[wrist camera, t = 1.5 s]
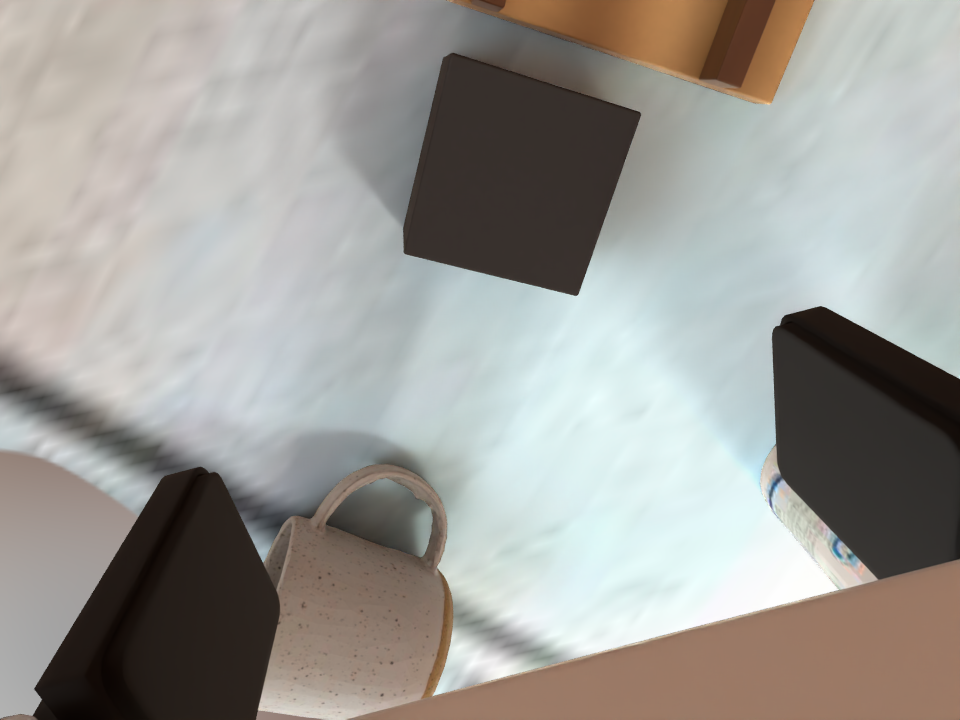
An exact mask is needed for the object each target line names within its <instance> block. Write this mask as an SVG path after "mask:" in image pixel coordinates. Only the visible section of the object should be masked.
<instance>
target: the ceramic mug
mask: <svg viewBox="0 0 960 720" xmlns="http://www.w3.org/2000/svg"><path fill="white" fill-rule="evenodd" d="M384 478H388V479H390V480H392V481H394V482H396V483H398V484H401V485H403V486H405V487H406V488H407V489H409V490H410V491H412V492H413V494H414V496H415V498H416V499H421V500H423V501H425V502H426V504H427V505H428V506H429V507H430V508H431V512H432V516H433V523H432V532H431V536H430V540H429V544H428V547H427V550H426V552H425V554H424V556H423V557H421V558H419V557H417V556H414V555H410V554H407V553H404V552H402V551H399V550H396V549H392V548H388V547H384V546H381V545H378V544H375V543H373V542H370V541H367V540H365V539H362V538H360V537H357V536H355V535H353V534H350V533H347V532H344V531H341V530H340V529H338V528H333V527H330V526H327V525H325V524H326V522H327V520H328V518H329V517H330V515H331V514H332V513H333V512H334V511H335V510H336V508H337V507H338V506H339V505H340V504H341V503H342V502H343V501H344V499H345V498H346V497H347V496H348V495H349V494H351V493H352V492H353V491H355V490H357V489H359V488H361V487H363V486H365V485H366V484H371V483H373V482H375V481H376V480H378V479H384ZM446 539H447V518H446V514H445V511H444V507H443V505H442V502H441V500H440V498H439V497H438V495H437V493H436V492H435V491H434V489H433V488H432V487H431V486H430V485H429V484H428V483H427V482H426V481H425V480H424V479H423V478H421V477H420V476H418V475H417V474H415V473H413V472H411V471H409V470H407V469H405V468H402V467H399V466H395V465H390V464H375V465H370V466H366V467H364V468H362V469H360V470H357V471H355V472H353V473H351V474H349V475H348V476H347V477H345V478H344V479H343V480H342V481H340V482H339V483H338V484H337V485H336V486H335V487H334V488H333V489H332V491H331V492H330V493H329V494H328V495H327V497H326V498H325V499H324V501H323V502H322V503H321V505H320V506H319V507H318V509H317V511H316V513H315V515H314V516H313V517H312V518H311V519H307V518H304V517H300V516H291V517H290V518H289V519H288V520H287V521H286V522H285V523H284V524H283V526H282V527H281V530H280V532H279V534H278V536H277V537H276V539H275V540H274V542H273V544H272V546H271V548H270V551H269V553H268V555H267V557H266V559H265V561H264V563H263V564H264V566H265V568H266V570H267V572H268V574H269V576H270V578H271V581H272V583H273V585H274V587H275V589H276V591H277V593H278V597H279V601H280V617H279V621H278V625H277V630H276V634H275V638H274V643H273V647H272V651H271V656H270V660H269V664H268V669H267V673H266V677H265V682H264V686H263V690H262V695H261V699H260V703H259V708H258V710H262V711H269V712H275V713H282V714H289V715H295V716H302V717H310V718H319V719H326V720H346V719H350V718H353V717H357V716H361V715H365V714H368V713H372V712H376V711H379V710H383V709H387V708H391V707H394V706H398V705H402V704H405V703H409V702H413V701H417V700H420V699H424V698H428V697H431V696H432V695H433V693H434V692H435V690H436V687H437V685H438V682H439V680H440V677H441V674H442V672H443V669H444V667H445V663H446V659H447V655H448V651H449V647H450V642H451V635H452V627H453V601H452V596H451V592H450V589H449V586H448V583H447V581H446V579H445V577H444V576H443V575H442V573H441V572H440V571H439V570H438V569H437V565H438V564H439V562H440V560H441V557H442V554H443V552H444V548H445V543H446Z"/></svg>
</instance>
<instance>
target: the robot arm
mask: <svg viewBox="0 0 960 720" xmlns="http://www.w3.org/2000/svg"><path fill="white" fill-rule="evenodd" d="M772 348H773V373H774V399H775V424H776V449H777V465H778V468H779V471H780V474H781V476H782V478H783V479H784V481H785V482H786V483H787V485H788V486H789V487H790V488H791V489H792V490H793V491H794V492H795V493H796V494H797V495H798V496H799V497H800V498H801V499H802V500H803V501H804V502H805V503H806V504H807V506H808V507H809V508H810V509H811V510H812V511H813V512H814V513H815V514H816V515H817V516H818V517H819V518H820V519H821V520H822V521H823V522H824V523H825V524H826V525H827V526H828V528H829V529H830V530H831V531H832V532H833V533H834V534H835V535H836V536H837V537H838V538H839V539H840V540H841V541H842V542H843V543H844V544H845V545H846V546H847V547H848V548H849V549H850V551H851V552H852V553H853V554H854V555H855V556H856V557H857V558H858V559H859V560H860V561H861V562H862V563H863V564H864V565H865V566H866V567H867V568H868V569H869V570H870V571H871V573H872V574H873V575H874V576H875V577H876V578H877V579H878V580H876V581H873V582H869V583H865V584H861V585H857V586H853V587H849V588H845V589H841V590H837V591H834V592H830V593H826V594H822V595H818V596H814V597H810V598H806V599H802V600H799V601H795V602H791V603H787V604H783V605H779V606H775V607H771V608H767V609H763V610H760V611H756V612H752V613H748V614H744V615H740V616H736V617H732V618H728V619H724V620H721V621H717V622H713V623H709V624H705V625H701V626H697V627H693V628H689V629H686V630H682V631H678V632H674V633H670V634H667V635H663V636H659V637H655V638H651V639H647V640H644V641H640V642H636V643H632V644H628V645H624V646H621V647H617V648H613V649H609V650H605V651H602V652H598V653H594V654H590V655H586V656H582V657H579V658H575V659H571V660H567V661H563V662H560V663H556V664H552V665H548V666H545V667H541V668H537V669H533V670H529V671H526V672H522V673H518V674H514V675H510V676H507V677H503V678H499V679H495V680H491V681H488V682H484V683H480V684H476V685H473V686H469V687H465V688H461V689H457V690H454V691H450V692H446V693H443V694H439V695H435V696H431V697H428V698H424V699H420V700H417V701H413V702H409V703H405V704H402V705H398V706H394V707H391V708H387V709H383V710H379V711H376V712H372V713H368V714H365V715H361V716H357V717H353V718H350V719H346V720H960V379H959V378H957V377H955V376H953V375H951V374H949V373H947V372H945V371H944V370H942V369H940V368H938V367H936V366H934V365H932V364H930V363H929V362H927V361H925V360H923V359H921V358H919V357H917V356H915V355H914V354H912V353H910V352H908V351H906V350H904V349H902V348H900V347H899V346H897V345H895V344H893V343H891V342H889V341H887V340H885V339H884V338H882V337H880V336H878V335H876V334H874V333H872V332H870V331H869V330H867V329H865V328H863V327H861V326H859V325H857V324H855V323H854V322H852V321H850V320H848V319H846V318H844V317H842V316H840V315H839V314H837V313H835V312H833V311H831V310H829V309H827V308H825V307H822V306H819V307H815V308H811V309H807V310H804V311H800V312H796V313H792V314H788V315H785V316H784V317H783V318H782V321H781V324H780V326H776V327H775V328H774V329H773V333H772ZM279 617H280V601H279V597H278V593H277V591H276V589H275V587H274V585H273V583H272V581H271V578H270V576H269V574H268V572H267V570H266V568H265V566H264V564H263V562H262V560H261V558H260V556H259V554H258V552H257V550H256V548H255V546H254V544H253V541H252V539H251V537H250V535H249V533H248V531H247V529H246V527H245V525H244V523H243V521H242V519H241V517H240V515H239V513H238V511H237V509H236V507H235V504H234V502H233V500H232V498H231V496H230V494H229V492H228V490H227V488H226V486H225V484H224V482H223V480H222V478H221V477H220V475H219V474H218V473H216V472H213V473H209V472H208V471H207V470H206V469H205V468H203V467H197V468H193V469H190V470H186V471H182V472H178V473H174V474H170V475H167V476H164V477H163V478H162V479H161V481H160V483H159V484H158V486H157V487H156V489H155V491H154V492H153V494H152V496H151V497H150V499H149V501H148V502H147V504H146V506H145V507H144V509H143V511H142V512H141V514H140V515H139V517H138V519H137V520H136V522H135V524H134V525H133V527H132V529H131V531H130V532H129V534H128V535H127V537H126V539H125V540H124V542H123V543H122V545H121V547H120V548H119V550H118V552H117V553H116V555H115V557H114V558H113V560H112V562H111V563H110V565H109V567H108V569H107V570H106V572H105V573H104V575H103V576H102V578H101V580H100V581H99V583H98V585H97V586H96V588H95V590H94V591H93V593H92V595H91V596H90V598H89V600H88V601H87V603H86V604H85V606H84V608H83V609H82V611H81V613H80V614H79V616H78V618H77V619H76V621H75V622H74V624H73V626H72V627H71V629H70V631H69V633H68V634H67V636H66V637H65V639H64V641H63V642H62V644H61V646H60V647H59V649H58V650H57V652H56V654H55V655H54V657H53V659H52V660H51V662H50V664H49V666H48V667H47V669H46V670H45V672H44V674H43V675H42V677H41V679H40V680H39V682H38V683H37V685H36V687H35V688H34V689H35V691H36V692H37V693H38V695H39V696H40V697H41V699H42V701H41V702H40V704H39V706H38V707H37V709H36V711H35V713H34V714H33V716H29V715H24V714H18V715H13V716H8V717H3V718H1V719H0V720H256V716H257V712H258V708H259V703H260V699H261V695H262V690H263V686H264V682H265V677H266V673H267V669H268V664H269V660H270V656H271V651H272V647H273V643H274V638H275V634H276V630H277V625H278V621H279Z"/></svg>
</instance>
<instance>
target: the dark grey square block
mask: <svg viewBox="0 0 960 720" xmlns="http://www.w3.org/2000/svg"><path fill="white" fill-rule="evenodd" d="M640 116H641V113H640V112H638V111H635V110H632V109H629V108H626V107H622V106H619V105H616V104H613V103H610V102H607V101H604V100H600V99H597V98H594V97H591V96H588V95H585V94H581V93H578V92H575V91H572V90H569V89H566V88H562V87H559V86H556V85H553V84H550V83H547V82H544V81H540V80H537V79H534V78H531V77H528V76H525V75H521V74H518V73H515V72H512V71H509V70H506V69H503V68H499V67H496V66H493V65H490V64H487V63H484V62H480V61H477V60H474V59H471V58H468V57H465V56H461V55H458V54H455V53H451V54H449V55H448V56H446V57H444V58H443V61H442V65H441V69H440V73H439V78H438V82H437V86H436V90H435V95H434V99H433V103H432V108H431V112H430V116H429V120H428V125H427V129H426V133H425V137H424V142H423V146H422V150H421V155H420V159H419V163H418V167H417V172H416V176H415V180H414V184H413V189H412V193H411V197H410V201H409V206H408V210H407V214H406V219H405V223H404V227H403V239H404V253H405V254H407V255H411V256H415V257H419V258H423V259H427V260H431V261H435V262H439V263H443V264H447V265H452V266H456V267H460V268H464V269H468V270H472V271H476V272H480V273H484V274H488V275H492V276H497V277H501V278H505V279H509V280H513V281H517V282H521V283H525V284H529V285H533V286H537V287H542V288H546V289H550V290H554V291H558V292H562V293H566V294H570V295H574V296H577V295H578V294H579V291H580V288H581V285H582V282H583V280H584V277H585V274H586V271H587V268H588V265H589V262H590V260H591V257H592V254H593V251H594V248H595V245H596V242H597V240H598V237H599V234H600V231H601V228H602V225H603V222H604V219H605V217H606V214H607V211H608V208H609V205H610V202H611V199H612V197H613V194H614V191H615V188H616V185H617V182H618V179H619V177H620V174H621V171H622V168H623V165H624V162H625V159H626V157H627V154H628V151H629V148H630V145H631V142H632V139H633V136H634V134H635V131H636V128H637V125H638V122H639V119H640Z"/></svg>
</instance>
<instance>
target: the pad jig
mask: <svg viewBox="0 0 960 720" xmlns="http://www.w3.org/2000/svg"><path fill="white" fill-rule="evenodd" d="M447 1H450V2H453V3H456V4H458V5H461V6H464V7H467V8H470V9H473V10H476V11H479V12H482V13H485V14H488V15H491V16H494V17H497V18H500V19H503V20H506V21H509V22H512V23H515V24H518V25H521V26H524V27H527V28H530V29H533V30H536V31H539V32H542V33H545V34H548V35H551V36H554V37H557V38H560V39H563V40H566V41H569V42H572V43H575V44H578V45H581V46H584V47H587V48H590V49H593V50H596V51H599V52H602V53H605V54H608V55H611V56H614V57H617V58H620V59H623V60H626V61H629V62H632V63H635V64H638V65H641V66H644V67H647V68H650V69H653V70H656V71H659V72H662V73H665V74H668V75H671V76H674V77H677V78H680V79H683V80H686V81H689V82H692V83H695V84H698V85H701V86H704V87H707V88H710V89H713V90H716V91H719V92H722V93H725V94H728V95H731V96H734V97H737V98H740V99H743V100H746V101H749V102H752V103H757V104H771V103H772V101H773V98H774V96H775V93H776V91H777V89H778V86H779V84H780V81H781V79H782V77H783V74H784V72H785V69H786V67H787V65H788V62H789V60H790V58H791V55H792V53H793V50H794V48H795V46H796V43H797V41H798V38H799V36H800V34H801V31H802V29H803V26H804V24H805V22H806V19H807V17H808V14H809V12H810V10H811V7H812V5H813V2H814V0H447Z"/></svg>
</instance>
